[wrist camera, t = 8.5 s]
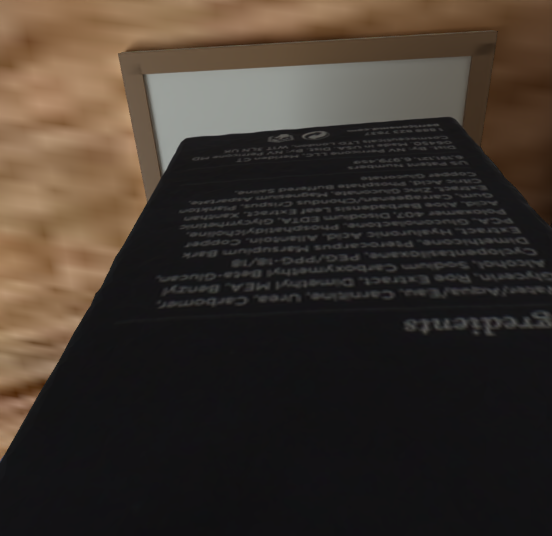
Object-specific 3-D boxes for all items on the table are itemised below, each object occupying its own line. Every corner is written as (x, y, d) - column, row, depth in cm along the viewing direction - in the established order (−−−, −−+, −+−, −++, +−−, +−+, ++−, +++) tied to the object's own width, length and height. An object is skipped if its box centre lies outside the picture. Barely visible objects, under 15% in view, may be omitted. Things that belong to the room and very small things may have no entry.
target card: (438, 400, 17) (441, 409, 17) (190, 405, 18) (188, 413, 18) (491, 30, 12) (497, 31, 11) (123, 52, 12) (117, 53, 12)
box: (171, 126, 10) (-390, 989, 2) (458, 109, 9) (1456, 1055, 1) (227, 431, 15) (158, 995, 7) (413, 426, 14) (566, 1009, 6)
